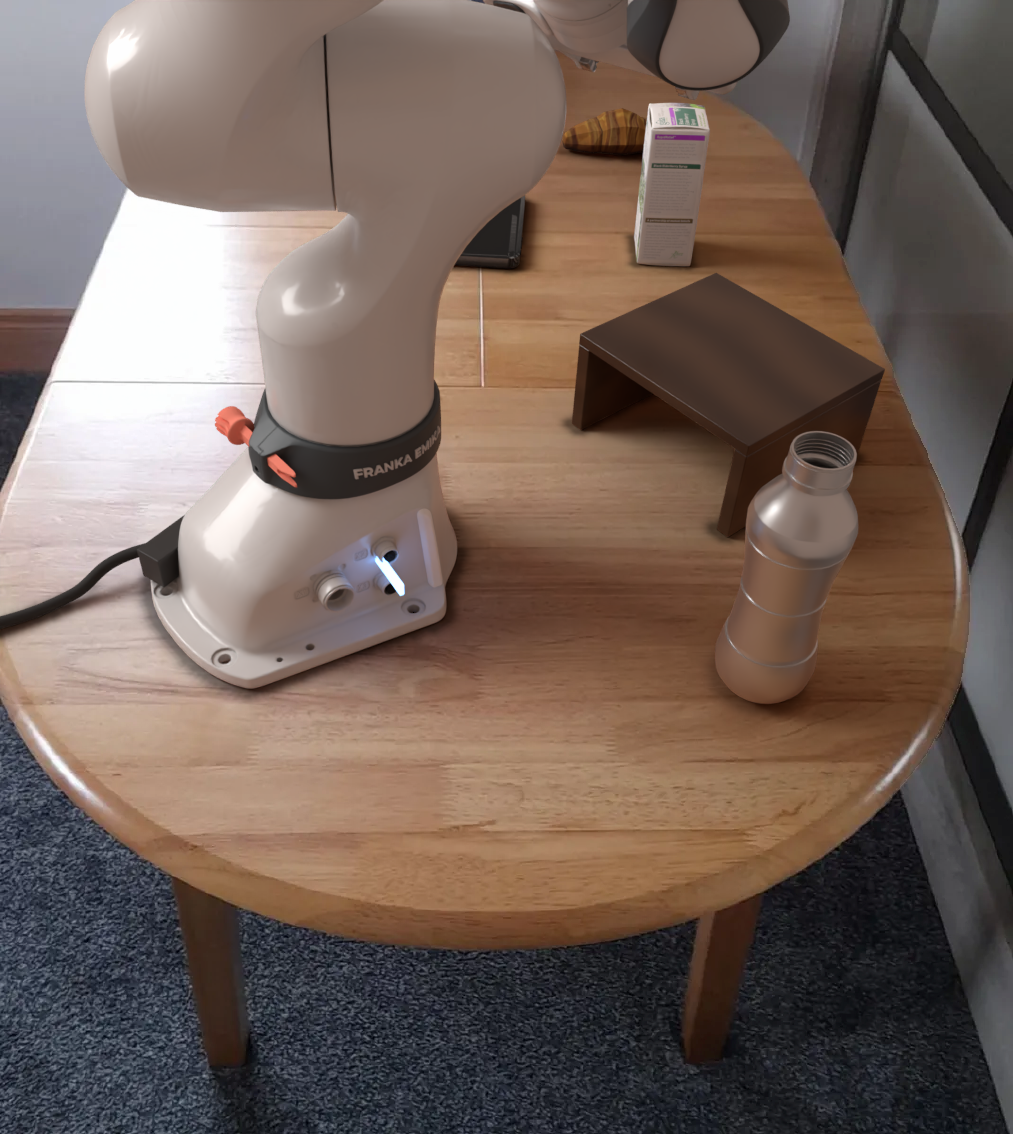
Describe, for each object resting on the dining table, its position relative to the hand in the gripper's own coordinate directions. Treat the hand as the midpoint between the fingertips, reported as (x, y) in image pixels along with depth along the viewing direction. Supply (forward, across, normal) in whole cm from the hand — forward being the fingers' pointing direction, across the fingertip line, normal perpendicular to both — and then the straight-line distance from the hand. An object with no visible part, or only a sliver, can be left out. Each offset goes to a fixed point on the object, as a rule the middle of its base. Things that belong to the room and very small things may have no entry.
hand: (640, 76), depth 97 cm
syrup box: (+24, +1, +7) cm, 26 cm away
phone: (+20, +18, +12) cm, 29 cm away
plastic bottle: (-10, -30, +41) cm, 52 cm away
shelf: (+6, -17, +25) cm, 31 cm away
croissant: (+38, +15, -6) cm, 41 cm away
